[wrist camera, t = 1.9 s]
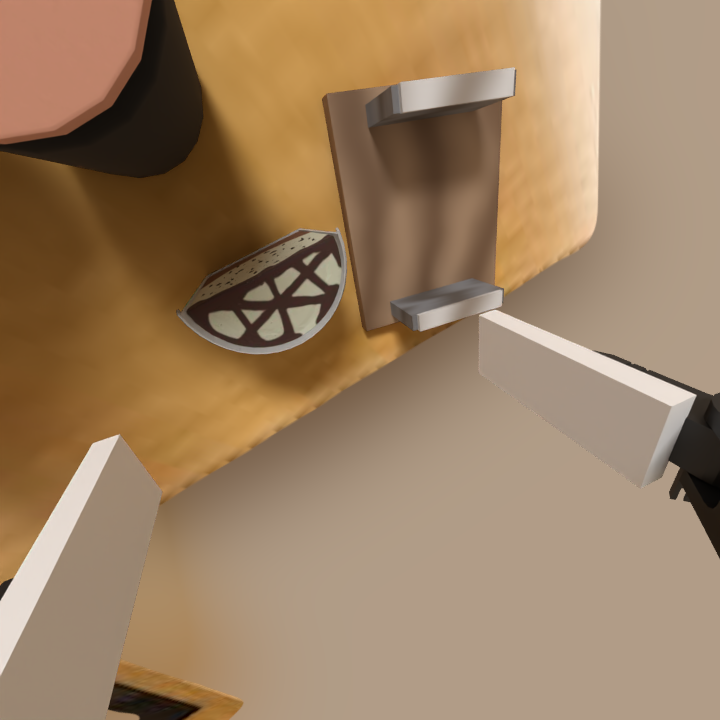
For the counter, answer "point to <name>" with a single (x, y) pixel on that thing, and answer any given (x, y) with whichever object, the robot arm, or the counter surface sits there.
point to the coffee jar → (98, 84)
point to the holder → (421, 194)
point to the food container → (271, 294)
